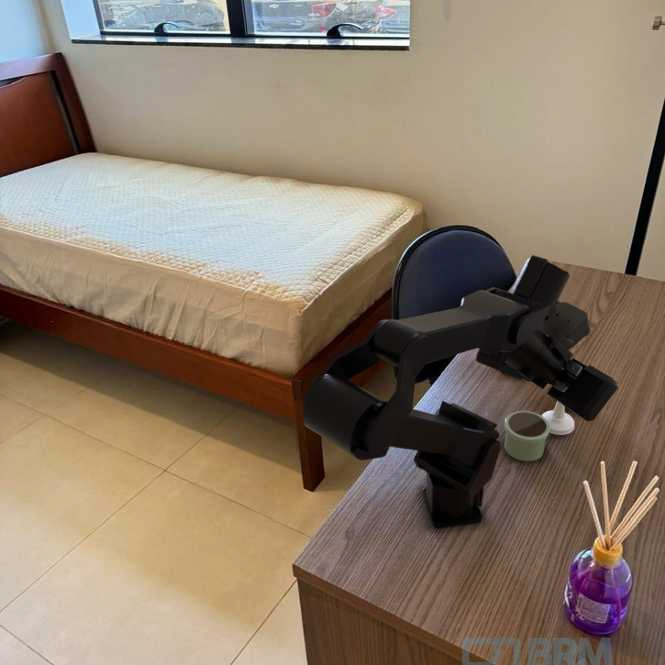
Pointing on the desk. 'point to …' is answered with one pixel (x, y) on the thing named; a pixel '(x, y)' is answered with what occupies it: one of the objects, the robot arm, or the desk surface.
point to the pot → (526, 435)
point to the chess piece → (559, 420)
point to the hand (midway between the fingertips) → (569, 385)
